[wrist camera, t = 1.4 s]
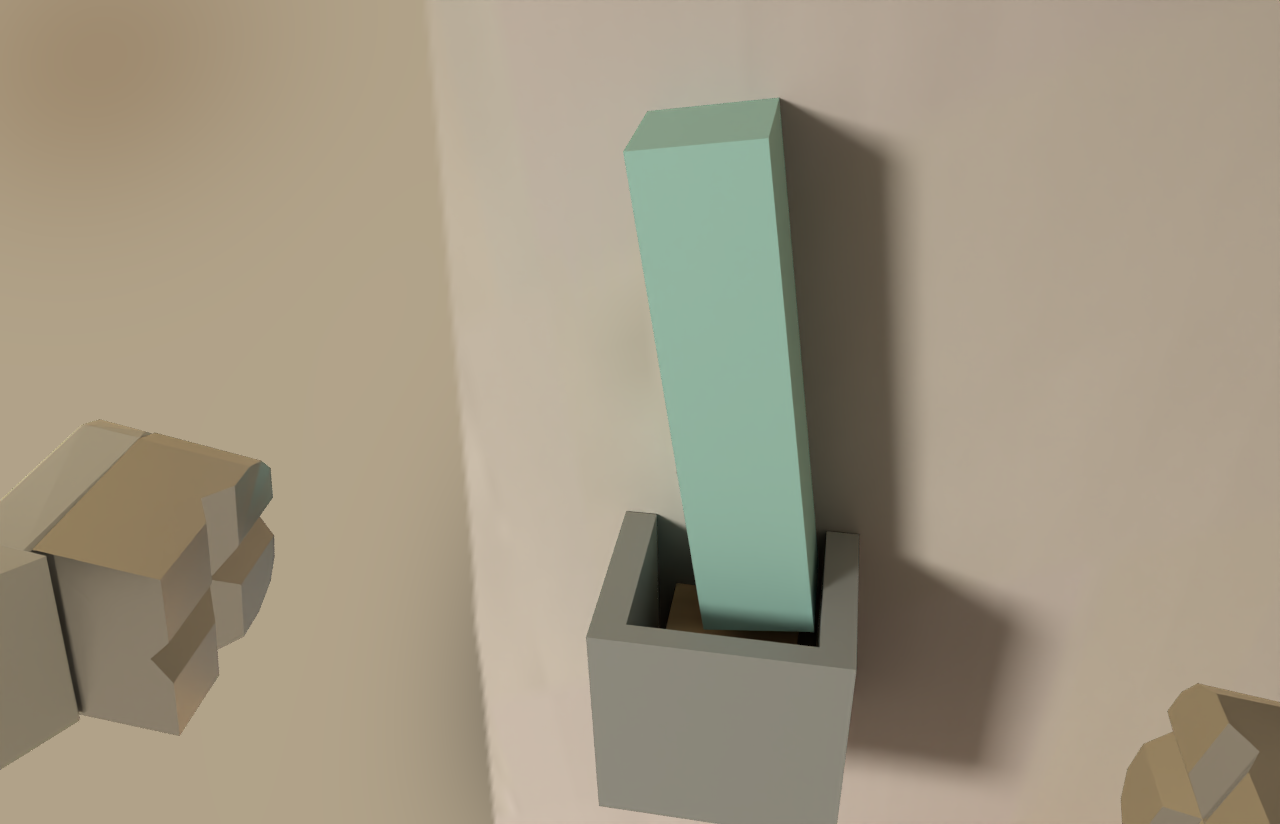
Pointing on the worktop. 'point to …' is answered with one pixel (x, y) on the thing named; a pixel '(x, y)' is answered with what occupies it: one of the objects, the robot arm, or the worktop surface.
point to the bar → (730, 355)
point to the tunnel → (719, 700)
